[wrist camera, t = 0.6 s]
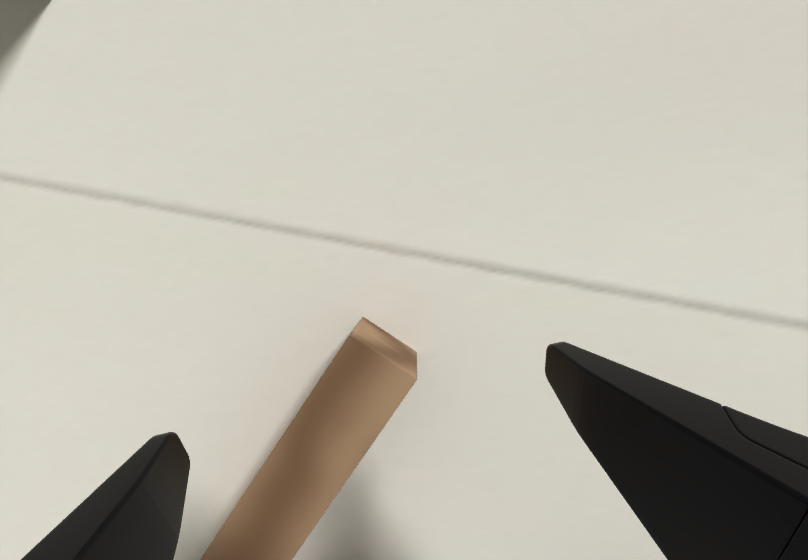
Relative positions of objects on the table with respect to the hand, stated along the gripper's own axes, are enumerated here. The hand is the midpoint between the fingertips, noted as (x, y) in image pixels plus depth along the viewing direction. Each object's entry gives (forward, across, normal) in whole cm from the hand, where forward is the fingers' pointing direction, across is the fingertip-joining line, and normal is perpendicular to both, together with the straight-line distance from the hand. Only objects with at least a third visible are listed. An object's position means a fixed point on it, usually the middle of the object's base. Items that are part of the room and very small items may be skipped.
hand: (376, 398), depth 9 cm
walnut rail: (+11, +4, +13) cm, 18 cm away
